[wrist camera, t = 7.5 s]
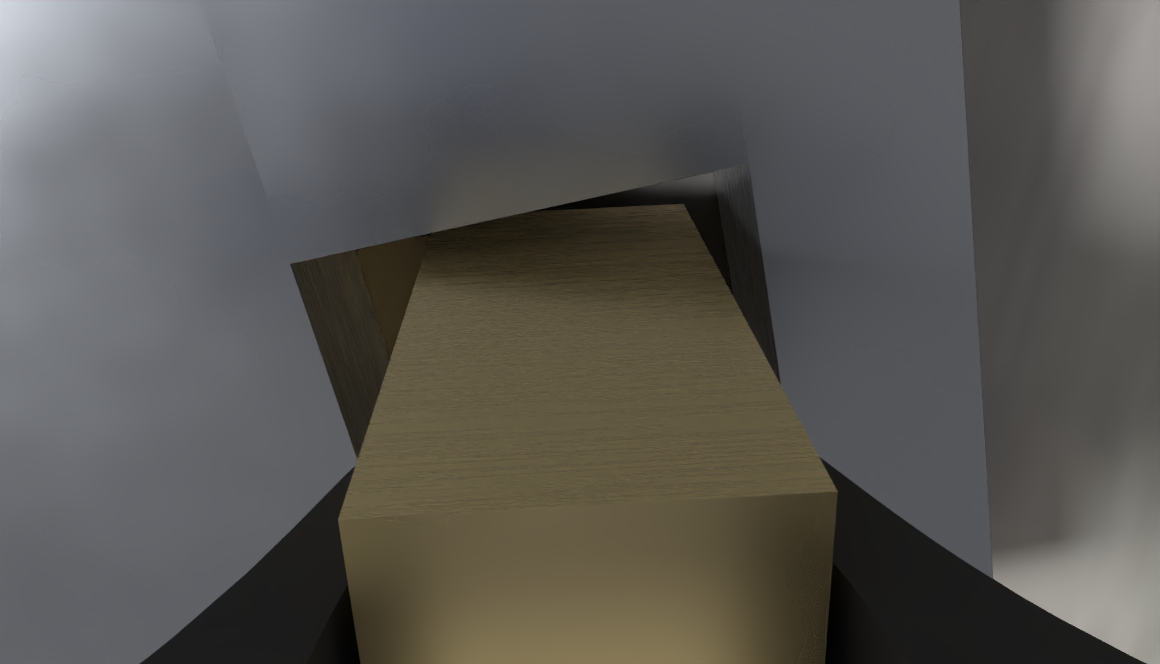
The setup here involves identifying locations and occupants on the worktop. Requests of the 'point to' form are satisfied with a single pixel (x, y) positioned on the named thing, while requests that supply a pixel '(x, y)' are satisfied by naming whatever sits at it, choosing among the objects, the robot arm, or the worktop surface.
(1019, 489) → the worktop surface
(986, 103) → the worktop surface
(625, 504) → the tan wooden block
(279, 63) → the peg hole base
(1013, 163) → the worktop surface
